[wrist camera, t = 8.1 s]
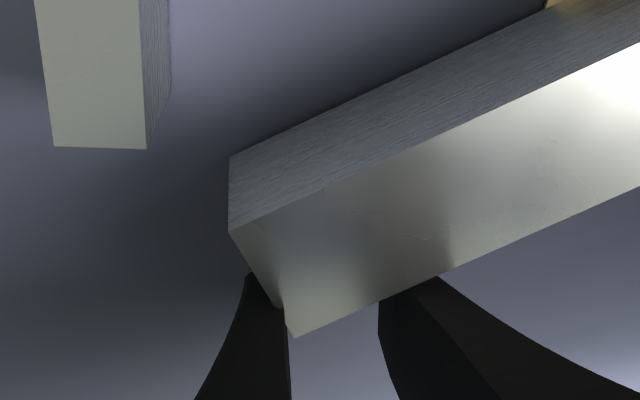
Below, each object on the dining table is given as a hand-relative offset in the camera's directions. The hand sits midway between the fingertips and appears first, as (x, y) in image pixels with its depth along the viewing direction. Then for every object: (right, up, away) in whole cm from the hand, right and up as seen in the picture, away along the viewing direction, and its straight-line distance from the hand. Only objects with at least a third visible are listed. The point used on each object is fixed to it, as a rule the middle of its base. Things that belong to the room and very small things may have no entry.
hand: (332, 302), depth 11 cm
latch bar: (+3, +4, 0) cm, 5 cm away
